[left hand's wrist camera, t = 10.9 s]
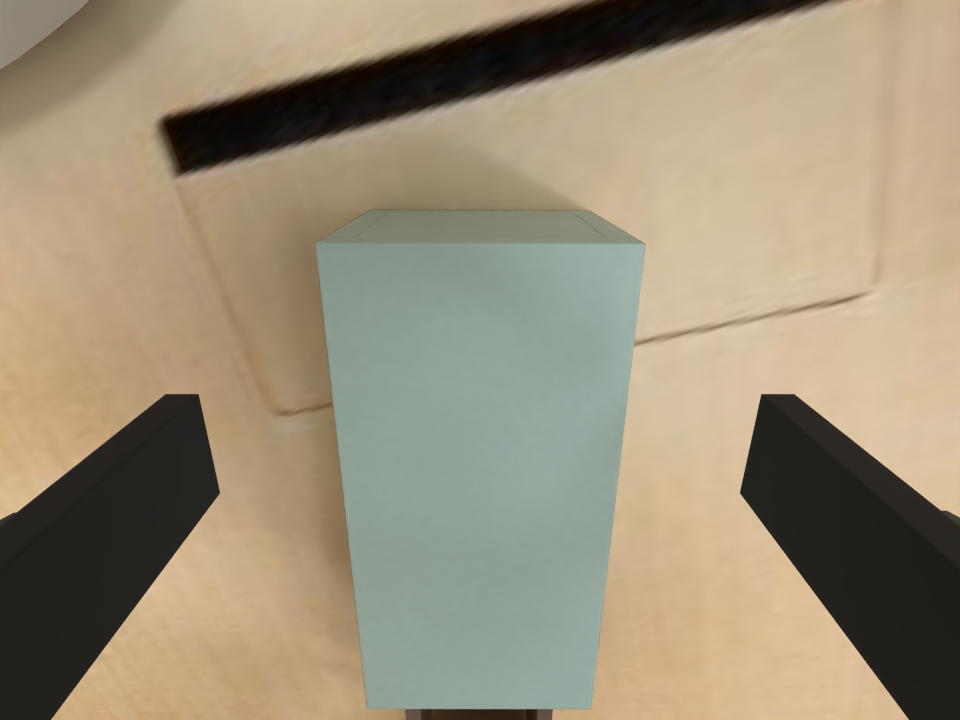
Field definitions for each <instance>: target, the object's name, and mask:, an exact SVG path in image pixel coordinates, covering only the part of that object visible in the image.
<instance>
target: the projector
mask: <svg viewBox="0 0 960 720" xmlns="http://www.w3.org/2000/svg"><path fill="white" fill-rule="evenodd" d="M89 1H90V0H0V70H1V69H2V68H4V67H5V66H7V65H8V64H10V63H12V62H13V61H15V60H16V59H18V58H19V57H20V56H22V55H23V54H24V53H26V52H27V51H28V50H30V49H31V48H32V47H34V46H35V45H37V44H38V43H39V42H41V41H42V40H43V39H45V38H46V37H47V36H49V35H50V34H51V33H52V32H54V31H55V30H56V29H57V28H58V27H60V26H61V25H62V24H63V23H64V22H66V21H67V20H68V19H69V18H70V17H72V16H73V15H74V14H75V13H76V12H78V11H79V10H80V9H81V8H82V7H83V6H84V5H86V4H87V3H88V2H89Z"/></svg>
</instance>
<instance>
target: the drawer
mask: <svg viewBox="0 0 960 720" xmlns="http://www.w3.org/2000/svg"><path fill="white" fill-rule="evenodd" d="M405 710H406V720H552V712H553V709H405Z"/></svg>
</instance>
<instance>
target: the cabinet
mask: <svg viewBox="0 0 960 720" xmlns="http://www.w3.org/2000/svg"><path fill="white" fill-rule="evenodd" d="M315 247H316V256H317V265H318V274H319V283H320V291H321V300H322V309H323V318H324V327H325V336H326V345H327V354H328V363H329V372H330V381H331V390H332V399H333V408H334V417H335V426H336V435H337V444H338V453H339V462H340V470H341V479H342V488H343V497H344V506H345V515H346V524H347V533H348V542H349V551H350V560H351V569H352V578H353V587H354V596H355V605H356V614H357V623H358V632H359V641H360V649H361V658H362V667H363V676H364V685H365V694H366V703H367V709H591V706H592V697H593V689H594V680H595V671H596V663H597V654H598V646H599V637H600V629H601V620H602V612H603V603H604V595H605V586H606V578H607V569H608V560H609V552H610V543H611V535H612V526H613V518H614V509H615V501H616V492H617V484H618V475H619V467H620V458H621V449H622V441H623V432H624V424H625V415H626V407H627V398H628V390H629V381H630V373H631V364H632V356H633V347H634V338H635V330H636V321H637V313H638V304H639V296H640V287H641V279H642V270H643V262H644V253H645V243H643V242H642V241H640V240H638V239H636V238H635V237H633V236H632V235H630V234H628V233H627V232H625V231H623V230H622V229H620V228H618V227H617V226H615V225H613V224H612V223H610V222H608V221H607V220H605V219H603V218H602V217H600V216H598V215H597V214H595V213H593V212H591V211H491V210H370V211H368V212H366V213H365V214H363V215H361V216H360V217H358V218H357V219H355V220H353V221H352V222H350V223H348V224H347V225H345V226H343V227H342V228H340V229H338V230H337V231H335V232H333V233H332V234H330V235H328V236H327V237H325V238H323V239H321V240H320V241H318V242H316V244H315Z"/></svg>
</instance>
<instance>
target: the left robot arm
mask: <svg viewBox="0 0 960 720" xmlns="http://www.w3.org/2000/svg"><path fill="white" fill-rule="evenodd" d="M219 494H220V491H219V486H218V482H217V477H216V472H215V468H214V463H213V459H212V454H211V449H210V445H209V440H208V436H207V431H206V426H205V422H204V417H203V412H202V408H201V403H200V399H199V394H165V395H164V396H163V397H162V398H160V399H159V400H158V401H157V402H155V403H154V404H153V405H152V406H150V407H149V408H148V409H147V410H145V411H144V412H143V413H142V414H140V415H139V416H138V417H137V418H135V419H134V420H133V421H131V422H130V423H129V424H128V425H126V426H125V427H124V428H123V429H121V430H120V431H119V432H118V433H116V434H115V435H114V436H113V437H111V438H110V439H109V440H108V441H106V442H105V443H104V444H103V445H101V446H100V447H99V448H98V449H96V450H95V451H94V452H92V453H91V454H90V455H89V456H87V457H86V458H85V459H84V460H82V461H81V462H80V463H79V464H77V465H76V466H75V467H74V468H72V469H71V470H70V471H69V472H67V473H66V474H65V475H64V476H62V477H61V478H60V479H59V480H57V481H56V482H55V483H53V484H52V485H51V486H50V487H48V488H47V489H46V490H45V491H43V492H42V493H41V494H40V495H38V496H37V497H36V498H35V499H33V500H32V501H31V502H30V503H28V504H27V505H26V506H25V507H23V508H22V509H21V510H19V511H18V512H17V513H12V514H11V515H9V516H7V517H5V518H3V519H1V520H0V720H51V719H52V718H53V716H54V715H55V713H56V712H57V711H58V709H59V708H60V707H61V705H62V704H63V703H64V701H65V700H66V699H67V697H68V696H69V695H70V693H71V692H72V691H73V689H74V688H75V687H76V685H77V684H78V683H79V681H80V680H81V679H82V677H83V676H84V675H85V673H86V672H87V671H88V669H89V668H90V667H91V665H92V664H93V663H94V661H95V660H96V659H97V657H98V656H99V655H100V653H101V652H102V650H103V649H104V648H105V646H106V645H107V644H108V642H109V641H110V640H111V638H112V637H113V636H114V634H115V633H116V632H117V630H118V629H119V628H120V626H121V625H122V624H123V622H124V621H125V620H126V618H127V617H128V616H129V614H130V613H131V612H132V610H133V609H134V608H135V606H136V605H137V604H138V602H139V601H140V600H141V598H142V597H143V596H144V594H145V593H146V592H147V590H148V589H149V588H150V586H151V585H152V583H153V582H154V581H155V579H156V578H157V577H158V575H159V574H160V573H161V571H162V570H163V569H164V567H165V566H166V565H167V563H168V562H169V561H170V559H171V558H172V557H173V555H174V554H175V553H176V551H177V550H178V549H179V547H180V546H181V545H182V543H183V542H184V541H185V539H186V538H187V537H188V535H189V534H190V533H191V531H192V530H193V529H194V527H195V526H196V525H197V523H198V522H199V521H200V519H201V518H202V516H203V515H204V514H205V512H206V511H207V510H208V508H209V507H210V506H211V504H212V503H213V502H214V500H215V499H216V498H217V496H218V495H219ZM740 494H741V495H742V496H743V498H744V499H745V500H746V502H747V503H748V504H749V506H750V507H751V508H752V510H753V511H754V512H755V514H756V515H757V516H758V518H759V519H760V521H761V522H762V523H763V525H764V526H765V527H766V529H767V530H768V531H769V533H770V534H771V535H772V537H773V538H774V539H775V541H776V542H777V543H778V545H779V546H780V547H781V549H782V550H783V551H784V553H785V554H786V555H787V557H788V558H789V559H790V561H791V562H792V563H793V565H794V566H795V567H796V569H797V570H798V571H799V573H800V574H801V575H802V577H803V578H804V579H805V581H806V582H807V583H808V585H809V586H810V588H811V589H812V590H813V592H814V593H815V594H816V596H817V597H818V598H819V600H820V601H821V602H822V604H823V605H824V606H825V608H826V609H827V610H828V612H829V613H830V614H831V616H832V617H833V618H834V620H835V621H836V622H837V624H838V625H839V626H840V628H841V629H842V630H843V632H844V633H845V634H846V636H847V637H848V638H849V640H850V641H851V642H852V644H853V645H854V646H855V648H856V649H857V650H858V652H859V653H860V655H861V656H862V657H863V659H864V660H865V661H866V663H867V664H868V665H869V667H870V668H871V669H872V671H873V672H874V673H875V675H876V676H877V677H878V679H879V680H880V681H881V683H882V684H883V685H884V687H885V688H886V689H887V691H888V692H889V693H890V695H891V696H892V697H893V699H894V700H895V701H896V703H897V704H898V705H899V707H900V708H901V709H902V711H903V712H904V713H905V715H906V716H907V718H908V719H909V720H960V517H958V516H956V515H954V514H952V513H950V512H948V511H941V510H939V509H938V508H937V507H935V506H934V505H933V504H932V503H930V502H929V501H928V500H927V499H925V498H924V497H923V496H922V495H920V494H919V493H918V492H917V491H915V490H914V489H913V488H912V487H910V486H909V485H908V484H907V483H905V482H904V481H903V480H901V479H900V478H899V477H898V476H896V475H895V474H894V473H893V472H891V471H890V470H889V469H888V468H886V467H885V466H884V465H883V464H881V463H880V462H879V461H878V460H876V459H875V458H874V457H873V456H871V455H870V454H869V453H868V452H866V451H865V450H864V449H862V448H861V447H860V446H859V445H857V444H856V443H855V442H854V441H852V440H851V439H850V438H849V437H847V436H846V435H845V434H844V433H842V432H841V431H840V430H839V429H837V428H836V427H835V426H834V425H832V424H831V423H830V422H829V421H827V420H826V419H825V418H823V417H822V416H821V415H820V414H818V413H817V412H816V411H815V410H813V409H812V408H811V407H810V406H808V405H807V404H806V403H805V402H803V401H802V400H801V399H800V398H798V397H797V396H796V395H795V394H761V399H760V403H759V408H758V412H757V417H756V422H755V426H754V431H753V436H752V440H751V445H750V449H749V454H748V459H747V463H746V468H745V472H744V477H743V482H742V486H741V491H740Z"/></svg>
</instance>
